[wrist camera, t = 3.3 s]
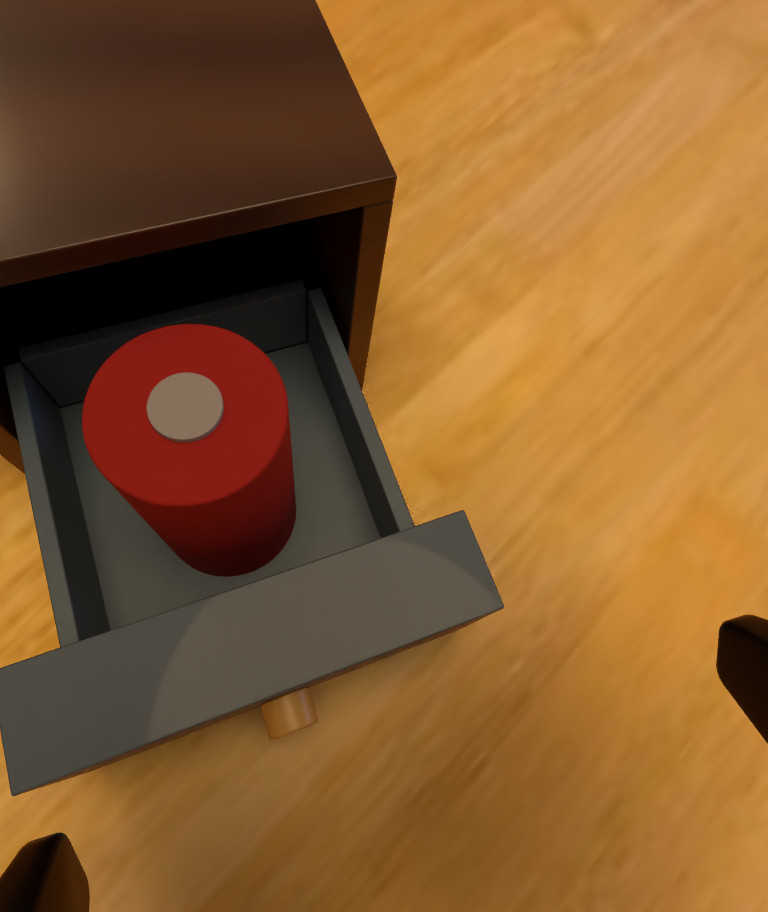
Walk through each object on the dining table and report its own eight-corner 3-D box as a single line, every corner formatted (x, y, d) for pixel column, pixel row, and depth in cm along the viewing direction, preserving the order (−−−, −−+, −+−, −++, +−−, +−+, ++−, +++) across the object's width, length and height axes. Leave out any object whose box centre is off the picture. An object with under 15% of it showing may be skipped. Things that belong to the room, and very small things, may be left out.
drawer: (470, 658, 22) (521, 644, 17) (98, 805, 19) (18, 845, 14) (342, 331, 26) (349, 237, 20) (18, 417, 23) (-68, 334, 18)
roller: (214, 605, 21) (154, 546, 13) (136, 502, 22) (36, 388, 14) (322, 521, 22) (328, 421, 14) (245, 427, 23) (209, 284, 15)
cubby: (362, 390, 25) (398, 176, 15) (36, 483, 23) (-195, 303, 12) (283, 188, 28) (267, -106, 18) (-12, 250, 26) (-230, -51, 15)
